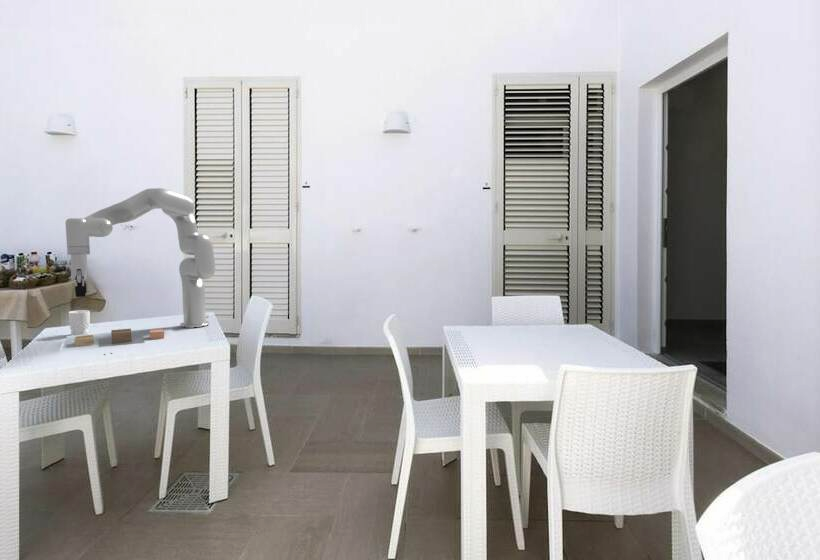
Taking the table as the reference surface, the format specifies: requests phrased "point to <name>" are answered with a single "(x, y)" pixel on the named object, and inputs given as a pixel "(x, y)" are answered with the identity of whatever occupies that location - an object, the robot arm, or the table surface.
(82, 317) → the white cup
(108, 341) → the slate board
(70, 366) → the table surface
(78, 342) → the oak block
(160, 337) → the terracotta block
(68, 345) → the table surface
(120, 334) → the walnut base block
